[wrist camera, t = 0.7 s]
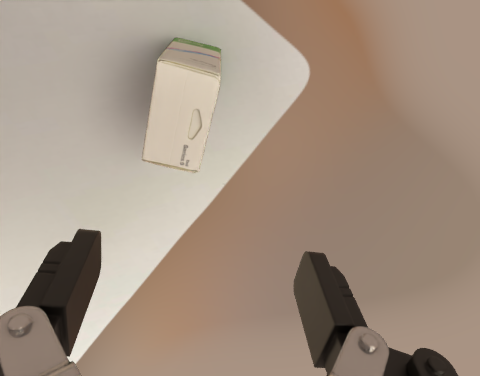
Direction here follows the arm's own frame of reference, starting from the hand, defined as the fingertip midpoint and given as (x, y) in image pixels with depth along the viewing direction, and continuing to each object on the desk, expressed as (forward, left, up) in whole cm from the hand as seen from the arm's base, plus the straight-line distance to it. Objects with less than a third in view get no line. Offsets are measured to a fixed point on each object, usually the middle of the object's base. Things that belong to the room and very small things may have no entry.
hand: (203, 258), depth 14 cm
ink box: (0, -2, -27) cm, 27 cm away
